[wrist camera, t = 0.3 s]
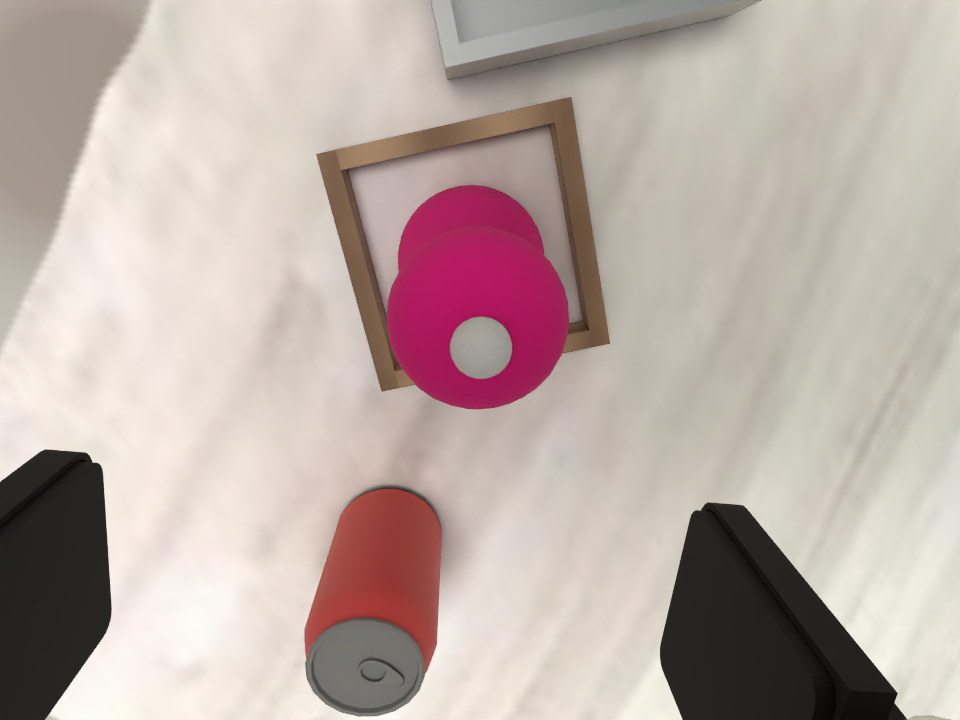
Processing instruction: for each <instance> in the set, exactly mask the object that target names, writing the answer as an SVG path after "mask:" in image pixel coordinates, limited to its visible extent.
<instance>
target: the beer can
mask: <svg viewBox="0 0 960 720" xmlns="http://www.w3.org/2000/svg"><path fill="white" fill-rule="evenodd" d="M440 560H441V526H440V524H439V521H438V519H437V516H436V514H435V513H434V512H433V510H432V509H431V508H430V507H429V506H428V504H427V503H426V502H425V501H423V500H421V499H420V498H418V497H417V496H415V495H413V494H412V493H409V492H405V491H401V490H398V489H378V490H375V491H372V492H368V493H365V494H363V495H361V496H360V497H358V498H357V499H355V500H354V501H352V502H351V503H350V504H349V505H348V506H347V508H346V509H345V510H344V512H343V513H342V514H341V516H340V519H339V522H338V525H337V529H336V532H335V535H334V538H333V541H332V544H331V547H330V551H329V554H328V557H327V560H326V563H325V566H324V569H323V573H322V576H321V579H320V582H319V585H318V588H317V592H316V595H315V598H314V601H313V604H312V607H311V610H310V614H309V617H308V620H307V623H306V627H305V651H306V663H305V665H306V676H307V680H308V682H309V684H310V686H311V688H312V690H313V692H314V693H315V694H316V695H317V696H318V697H319V698H320V699H321V700H322V701H323V702H324V703H325V704H327V705H328V706H330V707H332V708H334V709H336V710H338V711H340V712H342V713H346V714H351V715H355V716H379V715H383V714H386V713H390V712H393V711H396V710H397V709H399V708H400V707H402V706H404V705H405V704H407V703H409V702H410V700H411V699H412V698H413V697H414V696H415V695H416V694H417V692H418V691H419V690H420V687H421V684H422V682H423V679H424V676H425V673H426V671H427V670H428V667H429V664H430V662H431V659H432V656H433V654H434V651H435V648H436V645H437V627H438V605H439V582H440Z"/></svg>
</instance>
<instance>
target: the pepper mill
mask: <svg viewBox="0 0 960 720" xmlns="http://www.w3.org/2000/svg"><path fill="white" fill-rule="evenodd" d="M398 269H399V273H398V275H397V277H396V279H395V281H394V283H393V285H392V288H391V292H390V295H389V299H388V306H387V329H388V334H389V339H390V345H391V348H392V350H393V352H394V354H395V357H396V359H397V361H398V363H399V365H400V366H401V367H402V369H403V370H404V372H405V373H406V375H407V376H408V377H409V378H410V379H411V380H412V381H413V382H414V383H415V384H416V385H417V386H418V387H419V388H420V389H421V390H422V391H424V392H425V393H427V394H428V395H430V396H431V397H432V398H434V399H436V400H439V401H441V402H444V403H446V404H449V405H452V406H457V407H461V408H466V409H486V408H495V407H499V406H502V405H506V404H509V403H512V402H514V401H516V400H518V399H520V398H522V397H524V396H525V395H527V394H529V393H530V392H532V391H533V390H535V389H536V388H537V387H538V386H539V385H540V384H541V383H542V382H543V381H544V380H545V379H546V378H547V377H548V376H549V375H550V374H551V372H552V370H553V368H554V367H555V365H556V363H557V362H558V360H559V358H560V356H561V355H562V352H563V349H564V346H565V343H566V340H567V333H568V325H569V317H568V302H567V298H566V294H565V290H564V287H563V285H562V283H561V281H560V278H559V276H558V274H557V272H556V270H555V269H554V267H553V266H552V264H551V263H550V261H549V260H548V259H547V258H546V257H545V256H544V249H543V245H542V240H541V237H540V234H539V231H538V228H537V226H536V225H535V223H534V221H533V219H532V217H531V216H530V215H529V214H528V212H527V211H526V210H525V209H524V208H523V207H522V206H521V205H520V204H519V203H518V202H517V201H516V200H514V199H513V198H511V197H509V196H508V195H506V194H504V193H502V192H500V191H498V190H495V189H492V188H488V187H484V186H474V185H470V186H459V187H454V188H450V189H447V190H445V191H442V192H440V193H438V194H436V195H434V196H433V197H431V198H429V199H428V200H427V201H426V202H424V203H423V204H422V205H421V206H420V207H419V208H418V209H417V210H416V211H415V213H414V214H413V215H412V216H411V218H410V220H409V221H408V223H407V225H406V226H405V229H404V231H403V234H402V237H401V241H400V246H399V251H398Z"/></svg>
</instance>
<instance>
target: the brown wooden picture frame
mask: <svg viewBox="0 0 960 720" xmlns="http://www.w3.org/2000/svg"><path fill="white" fill-rule="evenodd" d="M546 124H550V129H551V135H552V141H553V147H554V153H555V159H556V164H557V170H558V176H559V182H560V188H561V194H562V200H563V206H564V212H565V218H566V224H567V230H568V236H569V242H570V247H571V253H572V259H573V265H574V271H575V277H576V283H577V289H578V295H579V301H580V307H581V313H582V319H583V321H581V322H576V323H571V324H569V325H568V333H567V340H566V343H565V346H564V349H563V352H562V353H567V352H572V351H577V350H581V349H586V348H591V347H596V346H600V345H605V344H610V341H609V334H608V328H607V322H606V315H605V309H604V302H603V296H602V290H601V283H600V277H599V271H598V264H597V258H596V252H595V245H594V239H593V233H592V226H591V220H590V214H589V207H588V201H587V194H586V188H585V182H584V175H583V169H582V163H581V156H580V150H579V144H578V137H577V131H576V125H575V118H574V112H573V106H572V99H571V97H570V98H565V99H561V100H556V101H552V102H547V103H543V104H538V105H534V106H530V107H525V108H521V109H516V110H512V111H507V112H503V113H498V114H494V115H489V116H485V117H480V118H476V119H472V120H467V121H463V122H458V123H454V124H449V125H445V126H440V127H436V128H431V129H427V130H422V131H418V132H414V133H409V134H405V135H400V136H396V137H391V138H387V139H382V140H378V141H373V142H369V143H364V144H360V145H356V146H351V147H347V148H342V149H338V150H333V151H329V152H324V153H320V154H316V155H317V159H318V162H319V166H320V170H321V173H322V177H323V181H324V184H325V188H326V191H327V195H328V199H329V202H330V206H331V210H332V213H333V217H334V220H335V224H336V228H337V231H338V235H339V239H340V242H341V246H342V249H343V253H344V257H345V260H346V264H347V268H348V271H349V275H350V278H351V282H352V286H353V289H354V293H355V297H356V300H357V304H358V307H359V311H360V315H361V318H362V322H363V326H364V329H365V333H366V336H367V340H368V344H369V347H370V351H371V355H372V358H373V362H374V365H375V369H376V373H377V376H378V380H379V384H380V387H381V391H387V390H391V389H396V388H401V387H406V386H410V385H415V383H414V382H413V381H412V380H411V379H410V378H409V377H408V376H407V375H406V373H405V372H404V370H403V369H402V367H401V366H400V365H399V363H398V361H397V359H396V357H395V354H394V352H393V350H392V348H391V345H390V339H389V334H388V329H387V318H386V314H385V310H384V306H383V302H382V299H381V295H380V291H379V287H378V283H377V280H376V276H375V272H374V268H373V264H372V261H371V257H370V253H369V249H368V246H367V242H366V238H365V234H364V230H363V227H362V223H361V219H360V215H359V211H358V208H357V204H356V200H355V196H354V192H353V189H352V185H351V181H350V177H349V173H348V170H347V169H349V168H353V167H358V166H362V165H367V164H371V163H376V162H380V161H385V160H389V159H394V158H398V157H403V156H407V155H412V154H416V153H421V152H425V151H430V150H434V149H439V148H443V147H448V146H452V145H457V144H461V143H466V142H470V141H475V140H479V139H483V138H488V137H492V136H497V135H501V134H506V133H510V132H515V131H519V130H524V129H528V128H533V127H537V126H542V125H546Z"/></svg>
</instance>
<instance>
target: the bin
mask: <svg viewBox="0 0 960 720" xmlns="http://www.w3.org/2000/svg"><path fill="white" fill-rule="evenodd" d="M759 1H761V0H431V4H432V9H433V14H434V18H435V23H436V28H437V33H438V37H439V42H440V47H441V52H442V56H443V61H444V66H445V71H446V76H447V80H448V79H453V78H457V77H462V76H466V75H470V74H475V73H479V72H484V71H488V70H492V69H497V68H501V67H506V66H510V65H515V64H519V63H523V62H528V61H532V60H537V59H541V58H545V57H550V56H554V55H559V54H563V53H568V52H572V51H576V50H581V49H585V48H590V47H594V46H598V45H603V44H607V43H612V42H616V41H620V40H625V39H629V38H634V37H638V36H643V35H647V34H651V33H656V32H660V31H665V30H669V29H673V28H678V27H682V26H687V25H691V24H696V23H700V22H704V21H709V20H713V19H718V18H722V17H726V16H729V15H731V14H734V13H736V12H738V11H740V10H742V9H744V8H746V7H748V6H750V5H753V4H755V3H757V2H759Z"/></svg>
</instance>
